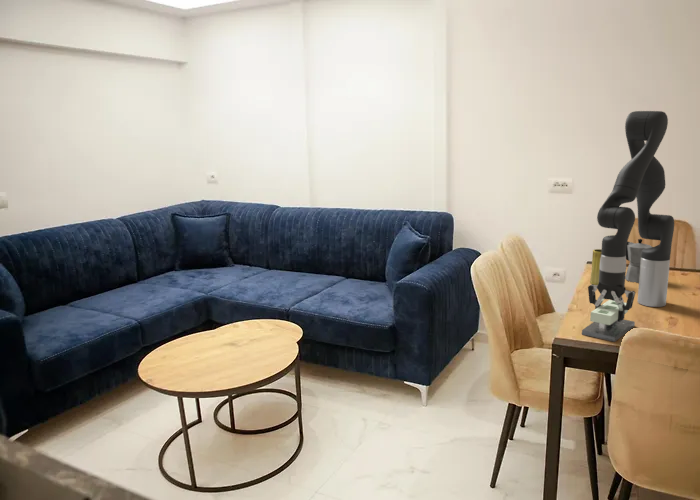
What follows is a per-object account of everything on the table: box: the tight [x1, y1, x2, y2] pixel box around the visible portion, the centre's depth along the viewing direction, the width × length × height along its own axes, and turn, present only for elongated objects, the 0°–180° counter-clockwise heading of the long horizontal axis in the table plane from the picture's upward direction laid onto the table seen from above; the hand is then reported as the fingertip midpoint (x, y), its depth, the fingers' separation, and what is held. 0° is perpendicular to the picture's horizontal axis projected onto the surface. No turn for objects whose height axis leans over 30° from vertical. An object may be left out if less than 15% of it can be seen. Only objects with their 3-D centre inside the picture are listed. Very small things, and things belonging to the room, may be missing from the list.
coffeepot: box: [625, 238, 653, 284], centre depth 226 cm, size 15×9×18 cm, turn 13°
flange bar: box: [589, 299, 629, 325], centre depth 171 cm, size 16×6×3 cm, turn 135°
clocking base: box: [581, 318, 636, 343], centre depth 172 cm, size 18×10×6 cm, turn 135°
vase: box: [589, 248, 602, 285], centre depth 223 cm, size 6×6×14 cm
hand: (609, 318), depth 172 cm, fingers closed on flange bar, 6 cm apart
